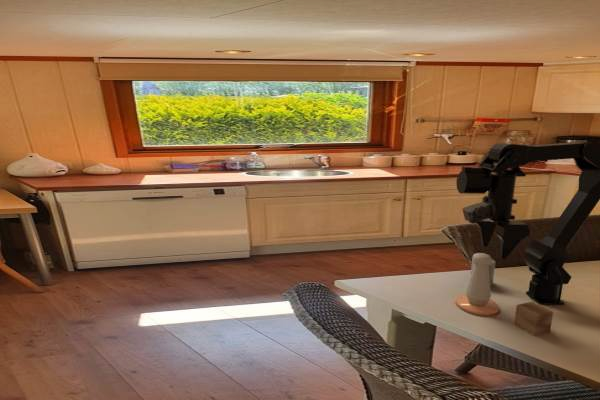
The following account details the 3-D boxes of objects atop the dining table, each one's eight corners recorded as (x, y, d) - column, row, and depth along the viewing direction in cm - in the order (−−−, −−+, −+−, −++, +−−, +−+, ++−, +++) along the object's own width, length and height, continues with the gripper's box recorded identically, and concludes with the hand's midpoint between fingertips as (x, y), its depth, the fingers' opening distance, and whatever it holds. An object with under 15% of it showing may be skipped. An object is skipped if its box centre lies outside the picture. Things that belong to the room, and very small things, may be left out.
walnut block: (529, 320, 86) (532, 301, 85) (550, 331, 81) (553, 311, 80) (514, 324, 84) (516, 304, 83) (534, 336, 79) (537, 315, 78)
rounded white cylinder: (486, 278, 109) (489, 256, 107) (496, 287, 103) (499, 264, 102) (466, 278, 109) (468, 256, 107) (475, 287, 103) (478, 264, 102)
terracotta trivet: (486, 296, 97) (486, 294, 97) (506, 316, 87) (507, 313, 87) (449, 296, 97) (449, 293, 97) (465, 315, 87) (465, 312, 87)
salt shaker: (492, 309, 89) (498, 259, 86) (467, 306, 90) (473, 257, 87) (485, 298, 95) (491, 251, 92) (462, 296, 96) (467, 249, 93)
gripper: (453, 187, 99) (448, 240, 103) (487, 201, 81) (479, 266, 84) (493, 187, 99) (487, 241, 103) (536, 201, 81) (527, 266, 84)
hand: (493, 252), depth 93 cm, fingers open, 9 cm apart
